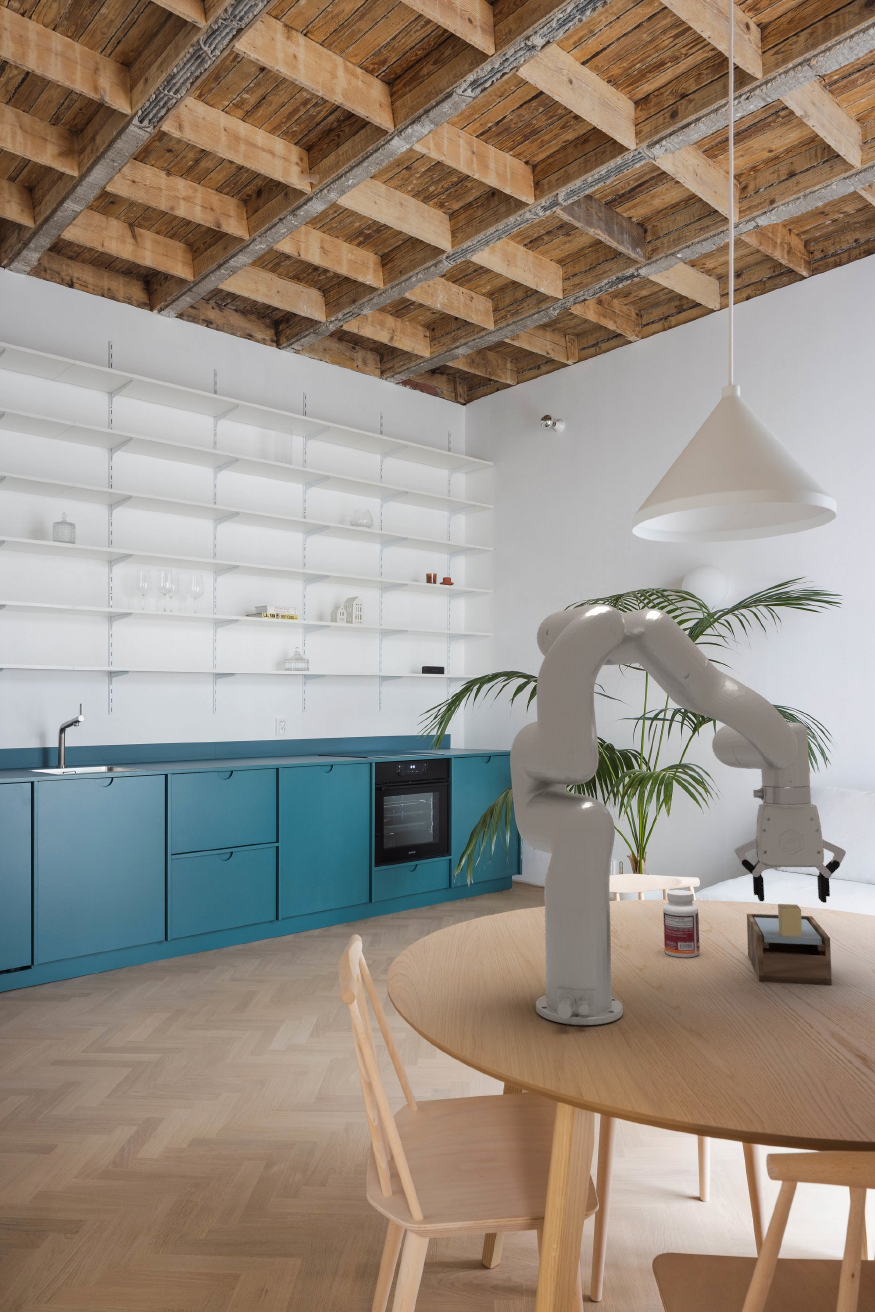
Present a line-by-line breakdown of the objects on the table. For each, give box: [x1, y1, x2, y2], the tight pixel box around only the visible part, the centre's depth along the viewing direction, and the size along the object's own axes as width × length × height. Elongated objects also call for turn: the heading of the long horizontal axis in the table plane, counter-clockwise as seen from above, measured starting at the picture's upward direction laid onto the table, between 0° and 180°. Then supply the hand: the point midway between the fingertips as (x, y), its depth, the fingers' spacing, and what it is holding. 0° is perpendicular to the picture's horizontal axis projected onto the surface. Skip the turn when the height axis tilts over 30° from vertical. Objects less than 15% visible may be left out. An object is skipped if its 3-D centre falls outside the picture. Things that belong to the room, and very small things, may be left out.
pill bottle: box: [662, 889, 701, 959], centre depth 164 cm, size 6×6×11 cm
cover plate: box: [754, 903, 822, 945], centre depth 154 cm, size 14×9×5 cm, turn 167°
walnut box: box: [746, 913, 833, 986], centre depth 153 cm, size 16×11×7 cm
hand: (791, 900), depth 150 cm, fingers open, 9 cm apart
